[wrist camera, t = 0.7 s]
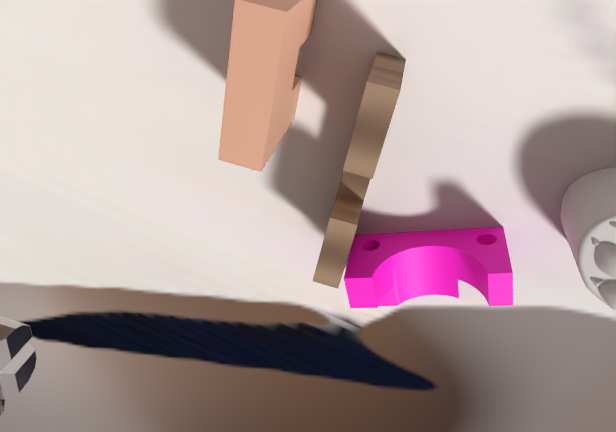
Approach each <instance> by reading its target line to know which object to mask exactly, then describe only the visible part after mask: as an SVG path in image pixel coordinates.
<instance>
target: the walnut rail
mask: <svg viewBox="0 0 616 432" xmlns="http://www.w3.org/2000/svg"><path fill="white" fill-rule="evenodd" d="M404 66H405V59H401V58H398V57H394V56H390V55H386V54H382V53H379V52H377V54H376V57H375V60H374V63H373V65H372V68H371V71H370V74H369V77H368V79H367V82H366V86H365V90H364V93H363V97H362V101H361V105H360V108H359V112H358V116H357V119H356V123H355V127H354V130H353V134H352V138H351V141H350V145H349V149H348V153H347V156H346V160H345V164H344V167H343V171H344V172H343V176H342V179H341V183H340V187H339V190H338V194H337V197H336V200H335V203H334V206H333V209H332V213H331V216H330V219H329V223H328V226H327V230H326V234H325V237H324V241H323V245H322V248H321V252H320V256H319V260H318V263H317V267H316V271H315V274H314V278H313V281H314V282H318V283H321V284H324V285H328V286H331V287H335V288H338V287H339V283H340V280H341V277H342V274H343V271H344V267H345V264H346V261H347V258H348V255H349V252H350V248H351V245H352V242H353V239H354V236H355V233H356V229H357V226H358V222H359V218H360V213H361V209H362V205H363V201H364V197H365V194H366V191H367V188H368V184H369V181H370V178H371V179H372V178H373V175H374V172H375V169H376V166H377V163H378V159H379V156H380V153H381V150H382V147H383V143H384V140H385V137H386V134H387V131H388V128H389V124H390V121H391V118H392V115H393V112H394V109H395V105H396V102H397V99H398V96H399V93H400V89H401V83H402V77H403V72H404Z"/></svg>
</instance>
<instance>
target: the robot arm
mask: <svg viewBox="0 0 616 432" xmlns="http://www.w3.org/2000/svg"><path fill="white" fill-rule="evenodd" d="M31 338H32V333H31V329H30V326H28V325H25V324H22V323H19V322H15V321H12V320H9V319H6V318H3V317H0V415H1V414H2V413H3V412H4V404H5V399H7V398H9V397H11V396H13V395H15V394H18V393H19V392H20V391H21V390H22V389H23V387H24V386H25V385H26V383H27V382H28V381H29V379H30V377H31V374H32V373H33V371H34V369H35V364H36V353H35V350H34V349H33V347H32V346H31V345H30V344H29V343H28V341H29V340H30V339H31Z"/></svg>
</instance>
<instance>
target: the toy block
mask: <svg viewBox="0 0 616 432" xmlns="http://www.w3.org/2000/svg"><path fill="white" fill-rule="evenodd" d="M458 279H459V280H462V281H464V282H466V283H468V284H470V285H472V286H474V287H475V288H476V289H478V290H479V291H480V292H481V293H482V294H483V295H484V297H485V298H486V300H487V302H488V304H489V306H506V305H513V273H512V268H511V263H510V258H509V253H508V248H507V243H506V239H505V234H504V229H503V227H488V228H470V229H453V230H435V231H418V232H400V233H383V234H366V235H355V236H354V239H353V242H352V246H351V250H350V255H349V259H348V263H347V267H346V272H345V276H344V281H345V286H346V290H347V294H348V299H349V303H350V308H377V307H378V306H397V305H398V304H400V303H402V302H404V301H406V300H408V299H411V298H414V297H418V296H423V295H433V294H438V295H448V296H453V297H457V298H459V291H458Z"/></svg>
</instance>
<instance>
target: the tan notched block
mask: <svg viewBox="0 0 616 432" xmlns="http://www.w3.org/2000/svg"><path fill="white" fill-rule="evenodd" d="M316 2H317V0H235V2H234V11H233V21H232V31H231V41H230V51H229V60H228V70H227V80H226V90H225V99H224V109H223V119H222V129H221V139H220V148H219V158H218V160H222V161H225V162H229V163H232V164H236V165H239V166H243V167H246V168H250V169H253V170H257V171H260V172H261V171H262V169H263V168H264V166H265V165H266V163H267V161H268V160H269V158H270V156H271V155H272V153H273V152H274V150H275V148H276V147H277V145H278V144H279V142H280V140H281V139H282V137H283V136H284V134H285V132H286V131H287V129H288V128H289V126H290V124H291V123H292V121H293V119H294V116H295V111H296V106H297V101H298V95H299V90H300V85H301V80H302V77H298V76H295V70H296V65H297V59H298V54H299V48H300V47H301V45H302V44H303V43H304V42H305V41H306V40H307V38H308V37H309V36H310V33H311V28H312V23H313V17H314V12H315V7H316Z"/></svg>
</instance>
